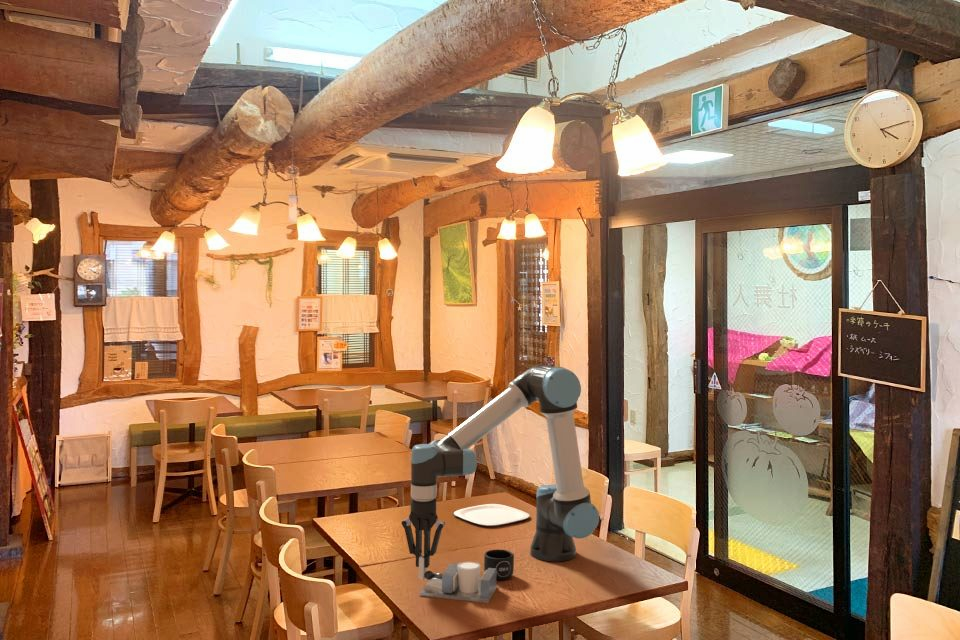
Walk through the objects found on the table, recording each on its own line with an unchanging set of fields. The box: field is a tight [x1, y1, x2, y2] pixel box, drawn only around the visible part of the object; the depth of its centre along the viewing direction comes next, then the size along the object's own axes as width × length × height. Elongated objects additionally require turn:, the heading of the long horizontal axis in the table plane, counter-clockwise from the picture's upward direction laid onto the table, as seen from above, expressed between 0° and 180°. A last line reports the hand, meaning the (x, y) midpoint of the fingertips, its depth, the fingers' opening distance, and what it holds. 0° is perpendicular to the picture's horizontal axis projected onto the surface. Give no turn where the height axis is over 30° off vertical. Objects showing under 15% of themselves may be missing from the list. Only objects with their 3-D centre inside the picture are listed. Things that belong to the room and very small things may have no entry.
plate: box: [453, 503, 531, 527], centre depth 303 cm, size 25×25×2 cm
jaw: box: [425, 562, 459, 593], centre depth 227 cm, size 10×10×5 cm
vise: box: [419, 568, 498, 604], centre depth 226 cm, size 20×12×6 cm, turn 77°
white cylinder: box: [457, 561, 482, 593], centre depth 225 cm, size 7×7×7 cm
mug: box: [483, 549, 515, 581], centre depth 240 cm, size 12×9×7 cm
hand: (422, 577), depth 229 cm, fingers closed
